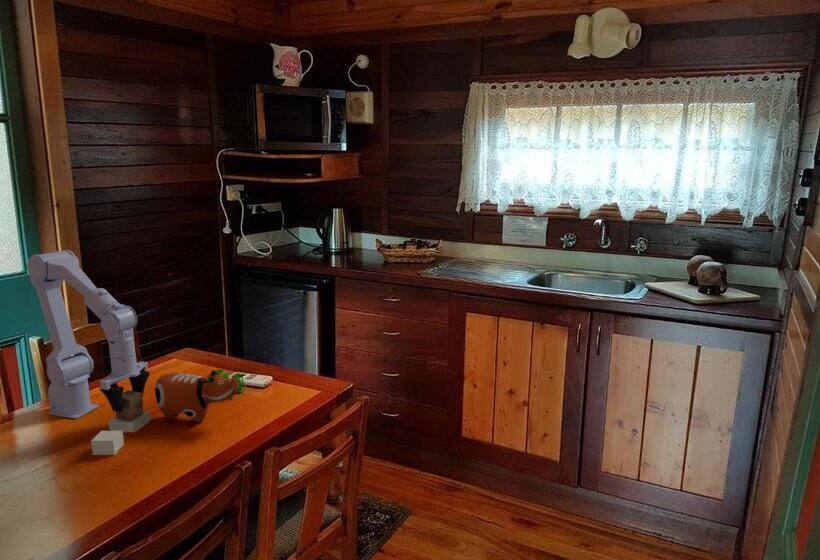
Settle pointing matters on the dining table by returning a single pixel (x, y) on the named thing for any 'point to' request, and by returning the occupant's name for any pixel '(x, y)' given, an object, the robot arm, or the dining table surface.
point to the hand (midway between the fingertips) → (128, 404)
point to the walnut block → (131, 406)
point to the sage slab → (129, 423)
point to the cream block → (107, 442)
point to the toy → (192, 393)
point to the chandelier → (232, 377)
